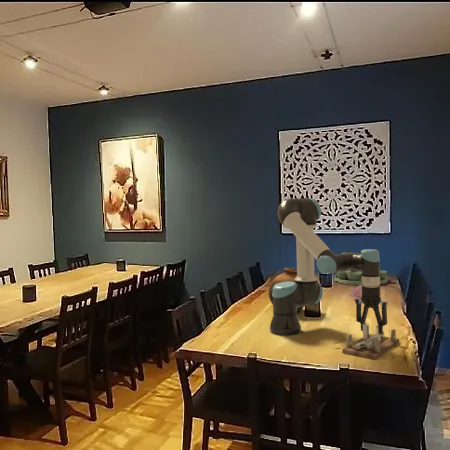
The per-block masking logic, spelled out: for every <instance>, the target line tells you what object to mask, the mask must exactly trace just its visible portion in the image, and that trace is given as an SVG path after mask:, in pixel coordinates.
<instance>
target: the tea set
mask: <svg viewBox="0 0 450 450" xmlns="http://www.w3.org/2000/svg"><path fill="white" fill-rule="evenodd" d="M387 274H388V271H387V270H381V269H380V284H383V285H386V284H387V283H389V281H390V278H389V277H388V276H387ZM333 279H334V282H335V281H337V282H339V283H338V284H340V283H343V284H342V285H344V284H349V285H348V286H351V285H362V277H361V271H358V270H348V271H341V272H336V275H334V278H333ZM337 282H336V283H337Z"/></svg>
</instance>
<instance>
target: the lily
mask: <svg viewBox="0 0 450 450" xmlns="http://www.w3.org/2000/svg"><path fill="white" fill-rule="evenodd" d="M350 290H351V291H352V292H350V293H349V294H348V295H347V296H348V297H350V298H353V301H354V302H355V300H356V299H358V298H359V299H360V298H361V297H362V286H361V285H359V286H356V288H355V287H352V286H350Z"/></svg>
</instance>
